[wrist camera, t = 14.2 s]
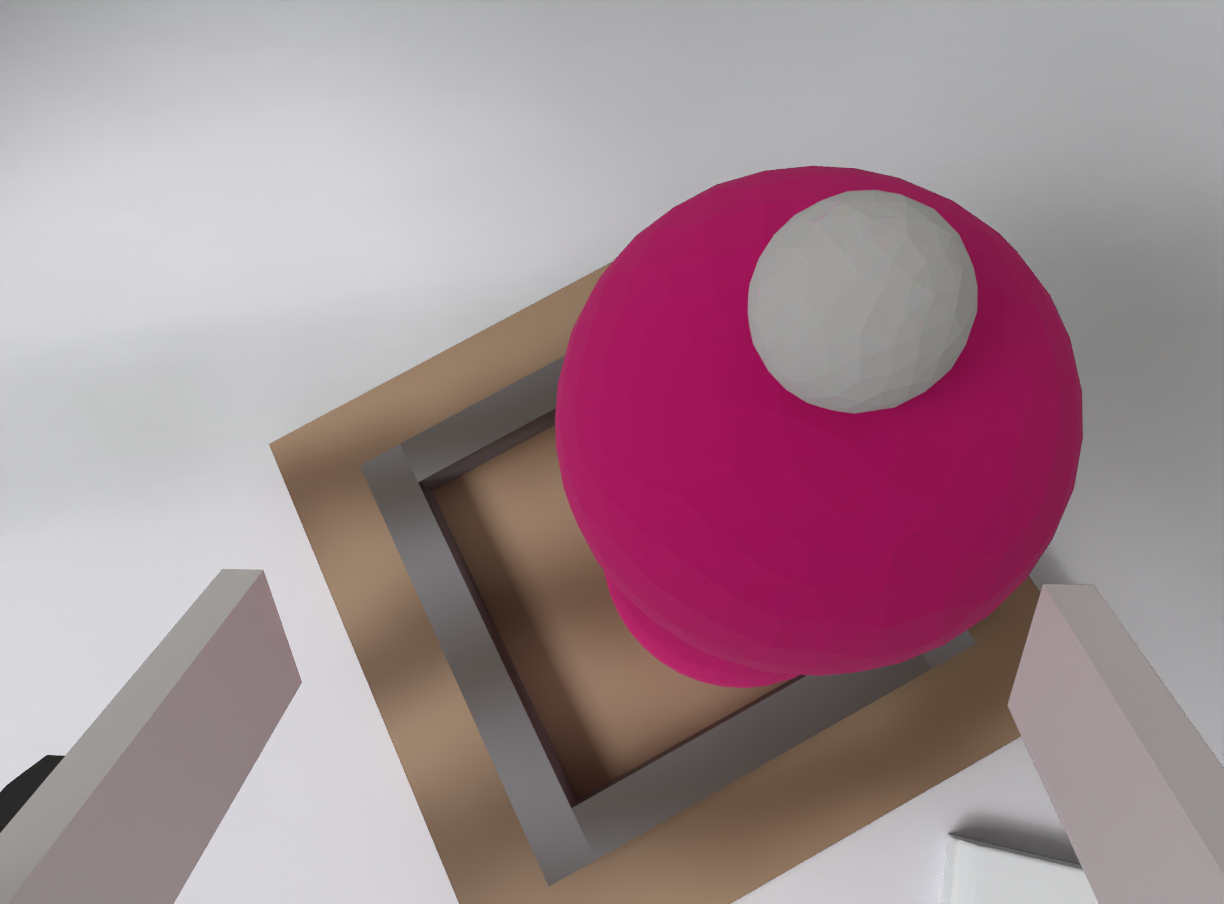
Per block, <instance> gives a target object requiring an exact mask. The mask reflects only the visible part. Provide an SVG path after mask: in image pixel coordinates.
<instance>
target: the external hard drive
mask: <svg viewBox="0 0 1224 904" xmlns="http://www.w3.org/2000/svg"><path fill="white" fill-rule="evenodd" d="M941 904H1098V901H1097V899H1096V897H1095V895H1094V893H1093V891H1092V888H1091V886H1090V884H1089V882H1088V880H1087V878H1086V875H1085V873H1084V871H1083V869H1082V867H1081V865H1080V864H1076V863H1071V862H1067V861H1063V860H1058V859H1054V858H1050V857H1045V856H1041V855H1037V854H1033V853H1029V852H1024V851H1020V850H1016V849H1012V848H1007V847H1003V846H999V845H995V844H990V843H986V842H982V841H978V840H973V839H969V838H965V837H961V836H957V835H953V834H947V842H946V855H945V865H944V875H943V887H942V896H941Z"/></svg>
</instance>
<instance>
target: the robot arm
mask: <svg viewBox="0 0 1224 904" xmlns="http://www.w3.org/2000/svg"><path fill="white" fill-rule="evenodd" d="M301 683H302V681H301V678H300V675H299V672H298V670H297V667H296V664H295V661H294V658H293V655H292V652H291V649H290V646H289V643H288V640H287V638H286V635H285V632H284V629H283V626H282V623H281V620H280V617H279V614H278V611H277V609H276V606H275V603H274V600H273V597H272V594H271V591H270V588H269V585H268V582H267V579H266V577H265V574H264V571H263V570H241V569H222V570H221V571H220V573H219V574H218V575H217V576H216V577H215V578H214V580H213V581H212V582H211V583H210V584H209V586H208V587H207V588H206V589H205V590H204V592H203V593H202V594H201V595H200V596H199V598H198V599H197V600H196V601H195V602H194V603H193V605H192V606H191V607H190V608H189V609H188V611H187V612H186V613H185V614H184V615H183V617H182V618H181V619H180V620H179V621H178V622H177V624H176V625H175V626H174V627H173V628H172V630H171V631H170V632H169V633H168V634H167V636H166V637H165V638H164V639H163V640H162V641H161V643H160V644H159V645H158V646H157V647H156V649H155V650H154V651H153V652H152V653H151V655H150V656H149V657H148V658H147V659H146V661H145V662H144V663H143V664H142V665H141V666H140V668H139V669H138V670H137V671H136V672H135V674H134V675H133V676H132V677H131V678H130V680H129V681H128V682H127V683H126V684H125V685H124V687H123V688H122V689H121V690H120V691H119V693H118V694H117V695H116V696H115V697H114V699H113V700H112V701H111V702H110V703H109V704H108V706H107V707H106V708H105V709H104V710H103V712H102V713H101V714H100V715H99V716H98V718H97V719H96V720H95V721H94V722H93V723H92V725H91V726H90V727H89V728H88V729H87V731H86V732H85V733H84V734H83V735H82V737H81V738H80V739H79V740H78V741H77V743H76V744H75V745H74V746H73V747H72V748H71V750H70V751H69V752H68V753H67V754H66V756H56V755H46V756H45V757H44V758H42V759H41V760H40V761H38V762H37V763H36V764H34V765H33V766H32V767H30V768H29V769H28V770H26V771H25V772H24V773H22V774H21V775H20V776H18V777H17V778H16V779H14V780H13V781H12V782H10V783H9V784H8V785H6V787H5V788H4V789H3V790H2V791H1V792H0V904H173V903H174V902H175V900H176V898H177V897H178V895H179V893H180V891H181V890H182V888H183V886H184V885H185V883H186V881H187V879H188V878H189V876H190V874H191V872H192V871H193V869H194V867H195V866H196V864H197V862H198V860H199V859H200V857H201V855H202V853H203V852H204V850H205V848H206V847H207V845H208V843H209V841H210V840H211V838H212V836H213V834H214V833H215V831H216V829H217V828H218V826H219V824H220V822H221V821H222V819H223V817H224V816H225V814H226V812H227V810H228V809H229V807H230V805H231V803H232V802H233V800H234V798H235V797H236V795H237V793H238V791H239V790H240V788H241V786H242V784H243V783H244V781H245V779H246V778H247V776H248V774H249V772H250V771H251V769H252V767H253V766H254V764H255V762H256V760H257V759H258V757H259V755H260V753H261V752H262V750H263V748H264V747H265V745H266V743H267V741H268V740H269V738H270V736H271V734H272V733H273V731H274V729H275V728H276V726H277V724H278V722H279V721H280V719H281V717H282V716H283V714H284V712H285V710H286V709H287V707H288V705H289V703H290V702H291V700H292V698H293V697H294V695H295V693H296V691H297V690H298V688H299V686H300V684H301ZM1007 706H1008V708H1009V710H1010V712H1011V715H1012V717H1013V719H1014V721H1015V723H1016V725H1017V728H1018V730H1019V732H1020V734H1021V736H1022V739H1023V741H1024V743H1025V745H1026V747H1027V749H1028V752H1029V754H1030V756H1031V758H1032V760H1033V762H1034V765H1035V767H1036V769H1037V771H1038V773H1039V775H1040V778H1041V780H1042V782H1043V784H1044V786H1045V788H1046V791H1047V793H1048V795H1049V797H1050V799H1051V802H1052V804H1053V806H1054V808H1055V810H1056V812H1057V815H1058V817H1059V819H1060V821H1061V823H1062V825H1063V828H1064V830H1065V832H1066V834H1067V836H1068V838H1069V841H1070V843H1071V845H1072V847H1073V849H1074V851H1075V854H1076V856H1077V858H1078V860H1079V862H1080V865H1081V867H1082V869H1083V871H1084V873H1085V875H1086V878H1087V880H1088V882H1089V884H1090V886H1091V888H1092V891H1093V893H1094V895H1095V897H1096V899H1097V901H1098V904H1224V768H1223V766H1222V765H1221V764H1220V762H1219V761H1218V759H1217V758H1216V756H1215V755H1214V754H1213V752H1212V751H1211V749H1210V748H1209V747H1208V745H1207V744H1206V742H1205V741H1204V740H1203V738H1202V737H1201V735H1200V734H1199V732H1198V731H1197V730H1196V728H1195V727H1194V725H1193V724H1192V723H1191V721H1190V720H1189V718H1188V717H1187V716H1186V714H1185V713H1184V711H1183V710H1182V709H1181V707H1180V706H1179V704H1178V703H1177V701H1176V700H1175V699H1174V697H1173V696H1172V694H1171V693H1170V692H1169V690H1168V689H1167V687H1166V686H1165V685H1164V683H1163V682H1162V680H1161V679H1160V678H1159V676H1158V675H1157V673H1156V672H1155V670H1154V669H1153V668H1152V666H1151V665H1150V663H1149V662H1148V661H1147V659H1146V658H1145V656H1144V655H1143V654H1142V652H1141V651H1140V649H1139V648H1138V646H1137V645H1136V644H1135V642H1134V641H1133V639H1132V638H1131V637H1130V635H1129V634H1128V632H1127V631H1126V630H1125V628H1124V627H1123V625H1122V624H1121V623H1120V621H1119V620H1118V618H1117V617H1116V615H1115V614H1114V613H1113V611H1112V610H1111V608H1110V607H1109V606H1108V604H1107V603H1106V601H1105V600H1104V599H1103V597H1102V596H1101V594H1100V593H1099V592H1098V590H1097V589H1096V587H1095V586H1094V585H1077V584H1043V586H1042V589H1041V593H1040V596H1039V599H1038V603H1037V606H1036V610H1035V613H1034V616H1033V620H1032V623H1031V627H1030V630H1029V633H1028V637H1027V640H1026V644H1025V647H1024V650H1023V654H1022V657H1021V661H1020V664H1019V668H1018V671H1017V674H1016V678H1015V681H1014V685H1013V688H1012V691H1011V695H1010V698H1009V702H1008V705H1007Z"/></svg>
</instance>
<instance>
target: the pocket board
mask: <svg viewBox="0 0 1224 904" xmlns="http://www.w3.org/2000/svg"><path fill="white" fill-rule="evenodd" d="M612 263H613V262H611V263H609V264H608V265H606V266H604V267H602V268H600V269H598V270H596V271H594V272H593V273H591V274H589V275H587V276H585V277H583V278H581V279H579V280H577V281H576V282H574V283H572V284H570V285H568V286H566V287H564V288H562V289H560V290H559V291H557V292H555V293H553V294H551V295H549V296H547V297H545V298H544V299H542V300H540V301H538V302H536V303H534V304H532V305H530V306H528V307H527V308H525V309H523V310H521V311H519V312H517V313H515V314H513V315H511V316H510V317H508V318H506V319H504V320H502V321H500V322H498V323H496V324H495V325H493V326H491V327H489V328H487V329H485V330H483V331H481V332H479V333H478V334H476V335H474V336H472V337H470V338H468V339H466V340H464V341H462V342H461V343H459V344H457V345H455V346H453V347H451V348H449V349H447V350H446V351H444V352H442V353H440V354H438V355H436V356H434V357H432V358H430V359H429V360H427V361H425V362H423V363H421V364H419V365H417V366H415V367H413V368H412V369H410V370H408V371H406V372H404V373H402V374H400V375H398V376H397V377H395V378H393V379H391V380H389V381H387V382H385V383H383V384H381V385H380V386H378V387H376V388H374V389H372V390H370V391H368V392H366V393H364V394H363V395H361V396H359V397H357V398H355V399H353V400H351V401H349V402H348V403H346V404H344V405H342V406H340V407H338V408H336V409H334V410H332V411H331V412H329V413H327V414H325V415H323V416H321V417H319V418H317V419H315V420H314V421H312V422H310V423H308V424H306V425H304V426H302V427H300V428H299V429H297V430H295V431H293V432H291V433H289V434H287V435H285V436H283V437H282V438H280V439H278V440H276V441H274V442H272V443H270V444H269V445H270V448H271V450H272V453H273V455H274V457H275V460H276V462H277V465H278V467H279V470H280V472H281V474H282V477H283V479H284V482H285V484H286V486H287V489H288V491H289V494H290V496H291V499H292V501H293V503H294V506H295V508H296V511H297V513H298V515H299V518H300V520H301V523H302V525H303V528H304V530H305V532H306V535H307V537H308V540H309V542H310V544H311V547H312V549H313V552H314V554H315V557H316V559H317V561H318V564H319V566H320V569H321V571H322V573H323V576H324V578H325V581H326V583H327V585H328V588H329V590H330V593H331V595H332V598H333V600H334V602H335V605H336V607H337V610H338V612H339V614H340V617H341V619H342V622H343V624H344V627H345V629H346V631H347V634H348V636H349V639H350V641H351V643H352V646H353V648H354V651H355V653H356V656H357V658H358V660H359V663H360V665H361V668H362V670H363V672H364V675H365V677H366V680H367V682H368V685H369V687H370V689H371V692H372V694H373V697H374V699H375V701H376V704H377V706H378V709H379V711H380V714H381V716H382V718H383V721H384V723H385V726H386V728H387V730H388V733H389V735H390V738H391V740H392V743H393V745H394V747H395V750H396V752H397V755H398V757H399V759H400V762H401V764H402V767H403V769H404V772H405V774H406V776H407V779H408V781H409V784H410V786H411V788H412V791H413V793H414V796H415V798H416V801H417V803H418V805H419V808H420V810H421V813H422V815H423V817H424V820H425V822H426V825H427V827H428V830H429V832H430V834H431V837H432V839H433V842H434V844H435V846H436V849H437V851H438V854H439V856H440V859H441V861H442V863H443V866H444V868H445V871H446V873H447V875H448V878H449V880H450V883H451V885H452V888H453V890H454V892H455V895H456V897H457V900H458V902H459V904H731V903H733V902H734V901H736V900H738V899H739V898H741V897H743V896H745V895H746V894H748V893H750V892H752V891H753V890H755V889H757V888H759V887H760V886H762V885H764V884H765V883H767V882H769V881H771V880H772V879H774V878H776V877H778V876H779V875H781V874H783V873H785V872H786V871H788V870H790V869H791V868H793V867H795V866H797V865H798V864H800V863H802V862H804V861H805V860H807V859H809V858H811V857H812V856H814V855H816V854H818V853H819V852H821V851H823V850H824V849H826V848H828V847H830V846H831V845H833V844H835V843H837V842H838V841H840V840H842V839H844V838H845V837H847V836H849V835H850V834H852V833H854V832H856V831H857V830H859V829H861V828H863V827H864V826H866V825H868V824H870V823H871V822H873V821H875V820H876V819H878V818H880V817H882V816H883V815H885V814H887V813H889V812H890V811H892V810H894V809H896V808H897V807H899V806H901V805H903V804H904V803H906V802H908V801H909V800H911V799H913V798H915V797H916V796H918V795H920V794H922V793H923V792H925V791H927V790H929V789H930V788H932V787H934V786H935V785H937V784H939V783H941V782H942V781H944V780H946V779H948V778H949V777H951V776H953V775H955V774H956V773H958V772H960V771H962V770H963V769H965V768H967V767H968V766H970V765H972V764H974V763H975V762H977V761H979V760H981V759H982V758H984V757H986V756H988V755H989V754H991V753H993V752H994V751H996V750H998V749H1000V748H1001V747H1003V746H1005V745H1007V744H1008V743H1010V742H1012V741H1014V740H1015V739H1017V738H1019V737H1020V736H1021V734H1020V732H1019V730H1018V728H1017V725H1016V723H1015V721H1014V719H1013V717H1012V715H1011V712H1010V710H1009V708H1008V706H1007V705H1008V702H1009V698H1010V695H1011V691H1012V688H1013V685H1014V681H1015V678H1016V674H1017V671H1018V668H1019V664H1020V661H1021V657H1022V654H1023V650H1024V647H1025V644H1026V640H1027V637H1028V633H1029V630H1030V627H1031V623H1032V620H1033V616H1034V613H1035V610H1036V606H1037V603H1038V599H1039V596H1040V591H1039V590H1038V588H1037V587H1036V585H1035V584H1034V583H1033V581H1032V580H1031V578H1030V577H1029V575H1028V577H1027V578H1026V580H1025V581H1024V582H1023V583H1022V584H1021V585H1020V586H1019V587H1018V588H1017V589H1016V590H1015V591H1014V592H1013V593H1012V594H1010V595H1009V596H1008V597H1007V598H1006V599H1005V600H1004V601H1003V602H1002V603H1001V604H1000V605H999V606H998V607H997V608H996V609H995V610H994V611H993V612H992V613H991V614H990V615H989V616H987V617H986V618H984V619H982V620H981V621H979V622H978V623H976V624H975V625H973V626H972V627H970V628H969V629H967V630H966V631H964V632H963V633H961V634H960V635H958V636H957V637H955V638H954V639H952V640H951V641H949V642H948V643H946V644H945V645H943V646H940V647H938V648H935V649H933V650H931V651H928V652H926V653H923V654H921V655H918V656H916V657H914V658H911V659H909V660H906V661H904V662H901V663H897V664H893V665H888V666H884V667H879V668H875V669H870V670H866V671H861V672H855V673H845V674H834V675H823V676H814V675H799V676H797V677H795V678H792V679H789V680H786V681H782V682H779V683H775V684H772V685H769V686H761V687H752V688H734V687H721V686H717V685H712V684H708V683H704V682H700V681H697V680H695V679H692V678H690V677H687V676H685V675H682V674H680V673H678V672H676V671H675V670H673V669H672V668H670V667H668V666H667V665H665V664H663V663H662V662H660V661H659V660H658V659H657V658H655V657H654V656H653V655H652V654H651V653H650V652H648V651H647V650H646V649H645V648H644V647H643V646H642V645H641V644H640V643H639V642H638V640H637V639H636V638H635V637H634V636H633V635H632V633H631V632H630V631H629V630H628V628H627V626H626V625H625V623H624V622H623V620H622V618H621V617H620V615H619V614H618V612H617V609H616V607H615V605H614V602H613V600H612V598H611V596H610V593H609V589H608V585H607V581H606V577H605V573H604V570H603V568H602V567H601V566H600V565H599V563H598V562H597V560H596V558H595V557H594V555H593V553H592V551H591V549H590V547H589V545H588V543H587V542H586V540H585V538H584V536H583V534H582V532H581V530H580V528H579V526H578V524H577V522H576V520H575V517H574V515H573V513H572V510H571V508H570V505H569V502H568V499H567V496H566V493H565V490H564V487H563V482H562V477H561V471H560V466H559V461H558V456H557V451H556V432H555V413H556V401H557V388H558V380H559V377H560V373H561V369H562V365H563V362H564V358H565V354H566V350H567V347H568V343H569V339H570V335H571V332H572V329H573V327H574V325H575V323H576V321H577V319H578V317H579V315H580V313H581V311H582V309H583V307H584V306H585V304H586V302H587V300H588V298H589V296H590V294H591V292H592V290H593V289H594V287H595V285H596V283H597V282H598V280H599V278H600V277H601V275H602V274H603V273H604V272H605V270H606V269H607V268H608V267H609V266H610V265H611V264H612Z"/></svg>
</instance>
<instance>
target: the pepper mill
mask: <svg viewBox="0 0 1224 904" xmlns="http://www.w3.org/2000/svg"><path fill="white" fill-rule="evenodd" d="M555 432H556V451H557V456H558V461H559V466H560V471H561V477H562V482H563V487H564V490H565V493H566V496H567V499H568V502H569V505H570V508H571V510H572V513H573V515H574V517H575V520H576V522H577V524H578V526H579V528H580V530H581V532H582V534H583V536H584V538H585V540H586V542H587V543H588V545H589V547H590V549H591V551H592V553H593V555H594V557H595V558H596V560H597V562H598V563H599V565H600V566H601V567H602V568H603V570H604V573H605V577H606V581H607V585H608V589H609V593H610V596H611V598H612V600H613V602H614V605H615V607H616V609H617V612H618V614H619V615H620V617H621V618H622V620H623V622H624V623H625V625H626V626H627V628H628V630H629V631H630V632H631V633H632V635H633V636H634V637H635V638H636V639H637V640H638V642H639V643H640V644H641V645H642V646H643V647H644V648H645V649H646V650H647V651H648V652H650V653H651V654H652V655H653V656H654V657H655V658H657V659H658V660H659V661H660V662H662V663H663V664H665V665H667V666H668V667H670V668H672V669H673V670H675V671H676V672H678V673H680V674H682V675H685V676H687V677H690V678H692V679H695V680H697V681H700V682H704V683H708V684H712V685H717V686H721V687H734V688H752V687H761V686H769V685H772V684H775V683H779V682H782V681H786V680H789V679H792V678H795V677H797V676H799V675H814V676H823V675H834V674H845V673H855V672H861V671H866V670H870V669H875V668H879V667H884V666H888V665H893V664H897V663H901V662H904V661H906V660H909V659H911V658H914V657H916V656H918V655H921V654H923V653H926V652H928V651H931V650H933V649H935V648H938V647H940V646H943V645H945V644H946V643H948V642H949V641H951V640H952V639H954V638H955V637H957V636H958V635H960V634H961V633H963V632H964V631H966V630H967V629H969V628H970V627H972V626H973V625H975V624H976V623H978V622H979V621H981V620H982V619H984V618H986V617H987V616H989V615H990V614H991V613H992V612H993V611H994V610H995V609H996V608H997V607H998V606H999V605H1000V604H1001V603H1002V602H1003V601H1004V600H1005V599H1006V598H1007V597H1008V596H1009V595H1010V594H1012V593H1013V592H1014V591H1015V590H1016V589H1017V588H1018V587H1019V586H1020V585H1021V584H1022V583H1023V582H1024V581H1025V580H1026V578H1027V577H1028V575H1029V574H1030V572H1031V571H1032V569H1033V568H1034V566H1035V565H1036V563H1037V562H1038V560H1039V559H1040V557H1041V556H1042V554H1043V553H1044V551H1045V550H1046V548H1047V546H1048V545H1049V543H1050V542H1051V540H1052V539H1053V536H1054V534H1055V532H1056V529H1057V527H1058V525H1059V522H1060V520H1061V518H1062V515H1063V513H1064V511H1065V508H1066V506H1067V503H1068V501H1069V499H1070V496H1071V494H1072V492H1073V489H1074V484H1075V479H1076V473H1077V467H1078V462H1079V456H1080V450H1081V444H1082V439H1083V430H1082V390H1081V386H1080V381H1079V377H1078V372H1077V368H1076V363H1075V359H1074V354H1073V350H1072V345H1071V341H1070V337H1069V335H1068V333H1067V331H1066V329H1065V327H1064V324H1063V322H1062V320H1061V318H1060V316H1059V314H1058V311H1057V309H1056V307H1055V305H1054V303H1053V301H1052V298H1051V296H1050V294H1049V293H1048V292H1047V291H1046V289H1045V288H1044V287H1043V285H1042V284H1041V283H1040V281H1039V280H1038V279H1037V277H1036V276H1035V275H1034V273H1033V272H1032V271H1031V269H1030V268H1029V267H1028V266H1027V264H1026V263H1025V262H1024V260H1023V259H1022V258H1021V256H1020V255H1019V254H1018V252H1017V251H1016V250H1015V249H1014V248H1013V247H1012V246H1011V245H1010V244H1009V243H1008V242H1007V241H1006V240H1005V239H1004V238H1003V237H1002V236H1001V235H1000V234H999V233H998V232H997V231H995V230H994V229H993V228H991V227H990V226H988V225H987V224H985V223H984V222H983V221H981V220H980V219H978V218H977V217H975V216H974V215H972V214H971V213H970V212H968V211H967V210H965V209H964V208H962V207H961V206H959V205H958V204H957V203H955V202H954V201H952V200H950V199H947V198H945V197H943V196H940V195H938V194H936V193H933V192H931V191H928V190H926V189H924V188H921V187H919V186H917V185H914V184H912V183H910V182H907V181H905V180H903V179H900V178H897V177H892V176H887V175H883V174H878V173H874V172H869V171H865V170H860V169H855V168H839V167H823V166H807V167H797V168H787V169H777V170H767V171H762V172H759V173H755V174H752V175H748V176H745V177H742V178H738V179H735V180H731V181H728V182H724V183H721V184H717V185H715V186H713V187H711V188H709V189H707V190H706V191H704V192H702V193H700V194H698V195H696V196H694V197H692V198H691V199H689V200H687V201H685V202H683V203H681V204H679V205H677V206H676V207H674V208H672V209H671V210H670V211H668V212H667V213H666V214H664V215H663V216H662V217H660V218H659V219H658V220H657V221H655V222H654V223H653V224H651V225H650V226H649V227H647V228H646V229H645V230H643V231H642V232H641V233H639V234H638V235H637V236H635V238H634V239H633V240H632V241H631V242H630V243H629V244H628V246H627V247H626V248H625V249H624V250H623V251H622V252H621V253H620V255H619V256H618V257H617V258H616V259H615V260H614V261H613V263H612V264H611V265H610V266H609V267H608V268H607V269H606V270H605V272H604V273H603V274H602V275H601V277H600V278H599V280H598V282H597V283H596V285H595V287H594V289H593V290H592V292H591V294H590V296H589V298H588V300H587V302H586V304H585V306H584V307H583V309H582V311H581V313H580V315H579V317H578V319H577V321H576V323H575V325H574V327H573V329H572V332H571V335H570V339H569V343H568V347H567V350H566V354H565V358H564V362H563V365H562V369H561V373H560V377H559V380H558V388H557V401H556V413H555Z"/></svg>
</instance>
